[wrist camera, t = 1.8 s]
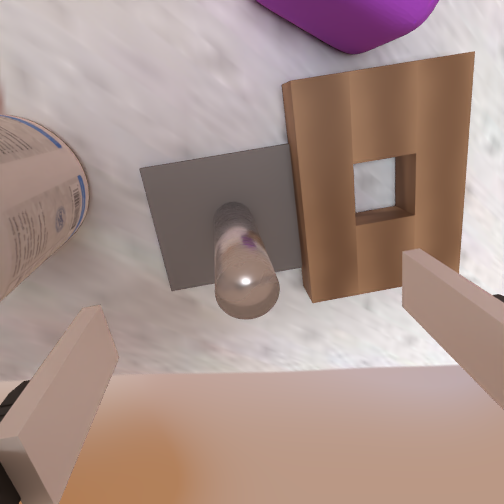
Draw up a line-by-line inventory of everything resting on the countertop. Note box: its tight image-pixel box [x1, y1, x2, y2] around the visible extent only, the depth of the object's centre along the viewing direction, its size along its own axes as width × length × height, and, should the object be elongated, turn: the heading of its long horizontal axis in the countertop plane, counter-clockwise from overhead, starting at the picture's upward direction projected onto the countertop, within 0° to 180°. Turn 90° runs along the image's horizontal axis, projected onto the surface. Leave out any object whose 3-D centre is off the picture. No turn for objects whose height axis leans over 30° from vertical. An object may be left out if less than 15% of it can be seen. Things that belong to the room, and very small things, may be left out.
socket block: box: [282, 51, 475, 303], centre depth 27 cm, size 12×16×3 cm
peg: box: [214, 202, 280, 319], centre depth 22 cm, size 3×3×12 cm
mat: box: [140, 144, 302, 291], centre depth 28 cm, size 12×10×1 cm
